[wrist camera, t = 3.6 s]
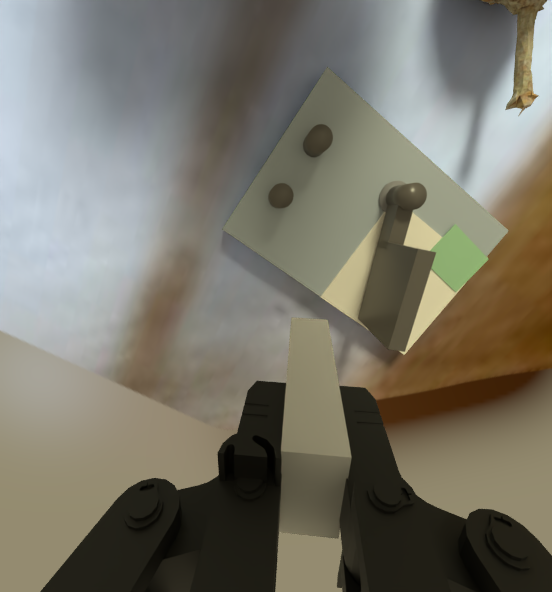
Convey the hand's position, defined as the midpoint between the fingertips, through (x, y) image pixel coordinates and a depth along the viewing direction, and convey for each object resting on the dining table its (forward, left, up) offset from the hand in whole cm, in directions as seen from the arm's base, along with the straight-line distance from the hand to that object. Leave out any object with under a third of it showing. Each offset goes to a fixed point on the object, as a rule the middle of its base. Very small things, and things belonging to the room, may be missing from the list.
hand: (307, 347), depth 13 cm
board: (+6, +9, -23) cm, 25 cm away
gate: (+9, +7, -20) cm, 23 cm away
